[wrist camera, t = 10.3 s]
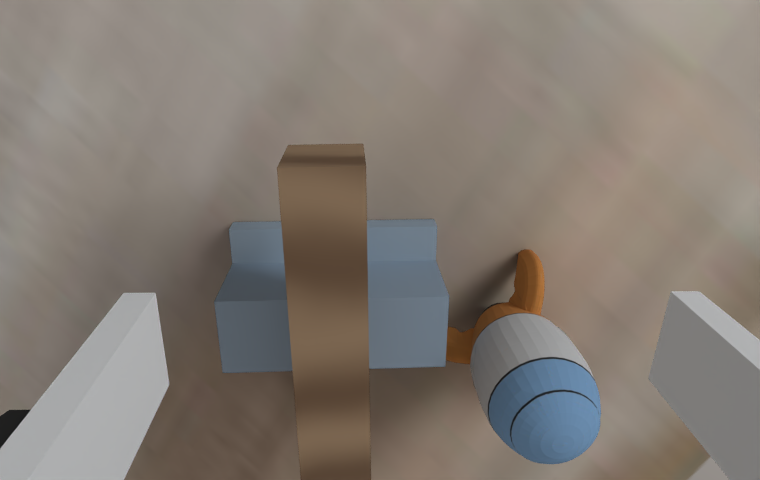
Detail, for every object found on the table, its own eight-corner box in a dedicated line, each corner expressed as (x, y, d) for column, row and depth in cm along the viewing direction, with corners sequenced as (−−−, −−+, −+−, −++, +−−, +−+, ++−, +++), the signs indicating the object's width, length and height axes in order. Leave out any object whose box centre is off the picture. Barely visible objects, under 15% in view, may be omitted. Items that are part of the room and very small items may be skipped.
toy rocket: (412, 344, 44) (423, 444, 29) (464, 220, 42) (503, 259, 27) (531, 389, 44) (602, 510, 29) (587, 268, 43) (691, 332, 28)
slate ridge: (233, 222, 38) (209, 262, 32) (433, 219, 39) (451, 258, 32) (245, 346, 42) (226, 405, 35) (428, 341, 42) (443, 398, 36)
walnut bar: (288, 145, 29) (276, 167, 25) (363, 143, 30) (365, 166, 25) (311, 488, 38) (306, 553, 33) (369, 486, 38) (372, 549, 34)
